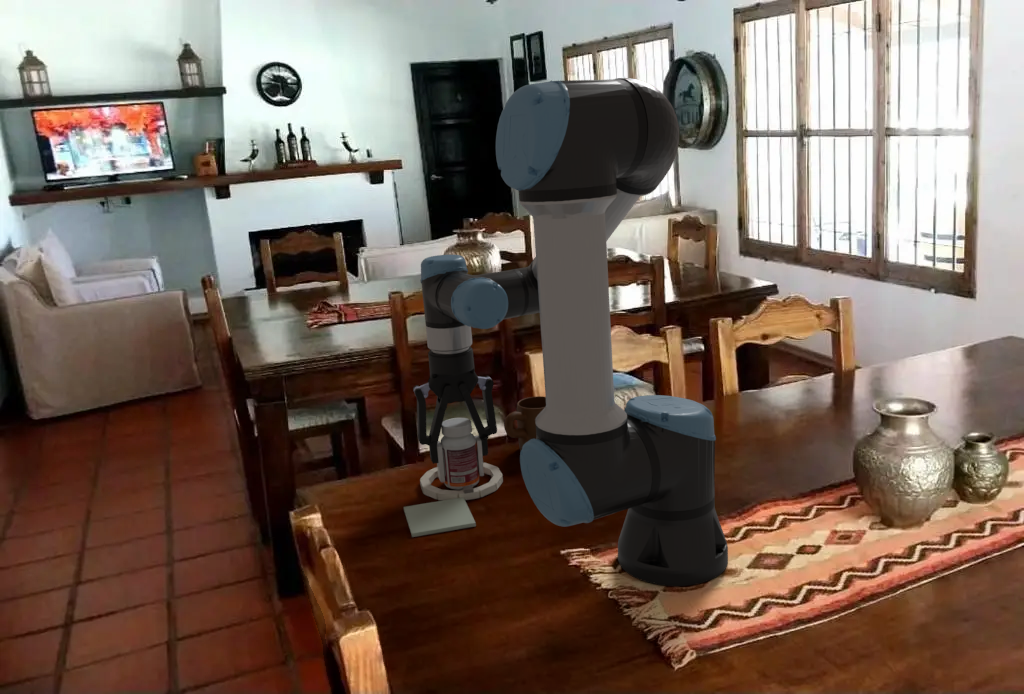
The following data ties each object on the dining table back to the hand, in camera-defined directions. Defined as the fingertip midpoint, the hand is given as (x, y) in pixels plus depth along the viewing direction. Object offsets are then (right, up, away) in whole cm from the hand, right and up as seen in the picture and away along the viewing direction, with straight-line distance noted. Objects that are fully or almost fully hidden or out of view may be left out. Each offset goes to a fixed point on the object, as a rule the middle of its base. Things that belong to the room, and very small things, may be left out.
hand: (461, 475), depth 151 cm
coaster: (-3, -5, -12) cm, 13 cm away
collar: (0, -1, 0) cm, 1 cm away
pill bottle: (0, -2, 0) cm, 2 cm away
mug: (+12, +2, +12) cm, 18 cm away
